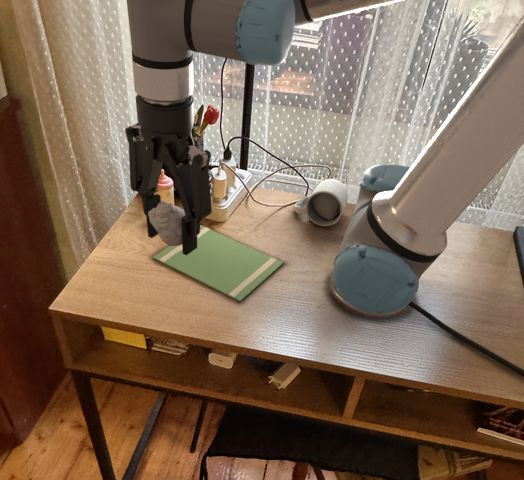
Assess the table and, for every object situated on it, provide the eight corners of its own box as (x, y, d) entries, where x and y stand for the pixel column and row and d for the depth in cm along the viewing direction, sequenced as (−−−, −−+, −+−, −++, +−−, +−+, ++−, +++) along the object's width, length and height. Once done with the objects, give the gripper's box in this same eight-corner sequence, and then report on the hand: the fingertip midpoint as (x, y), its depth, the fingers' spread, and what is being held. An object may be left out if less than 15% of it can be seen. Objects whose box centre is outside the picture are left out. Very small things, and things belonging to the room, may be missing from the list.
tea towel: (283, 263, 102) (283, 262, 102) (240, 302, 94) (240, 300, 94) (200, 226, 109) (200, 224, 109) (153, 258, 101) (152, 256, 101)
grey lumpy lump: (151, 232, 89) (148, 194, 84) (194, 232, 90) (194, 194, 84) (150, 254, 85) (146, 215, 80) (195, 254, 85) (194, 216, 80)
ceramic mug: (346, 210, 117) (352, 177, 111) (338, 230, 111) (344, 196, 106) (299, 200, 119) (303, 168, 113) (289, 219, 113) (292, 186, 108)
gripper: (242, 107, 69) (235, 254, 86) (129, 67, 76) (143, 210, 92) (205, 125, 65) (205, 277, 81) (89, 81, 71) (111, 229, 88)
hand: (172, 241), depth 87 cm, fingers closed on grey lumpy lump, 6 cm apart
